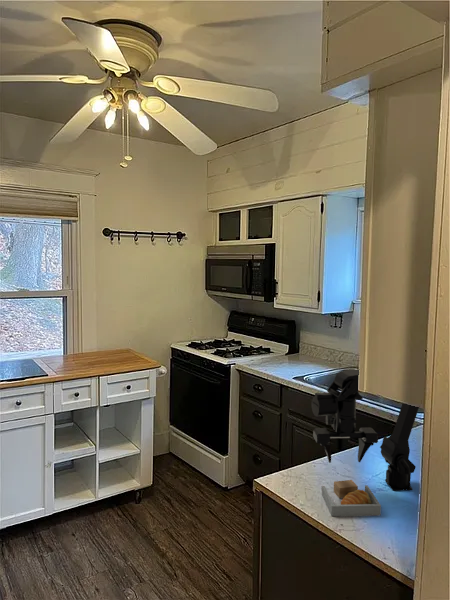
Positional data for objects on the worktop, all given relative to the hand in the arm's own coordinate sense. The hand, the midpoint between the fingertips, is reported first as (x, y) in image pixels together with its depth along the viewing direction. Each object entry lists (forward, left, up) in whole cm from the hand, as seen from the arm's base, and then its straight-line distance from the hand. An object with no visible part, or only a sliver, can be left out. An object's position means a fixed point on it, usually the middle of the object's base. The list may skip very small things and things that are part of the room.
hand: (344, 461), depth 142 cm
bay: (0, +7, -10) cm, 12 cm away
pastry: (-2, +7, -10) cm, 13 cm away
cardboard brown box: (0, +1, -10) cm, 10 cm away
